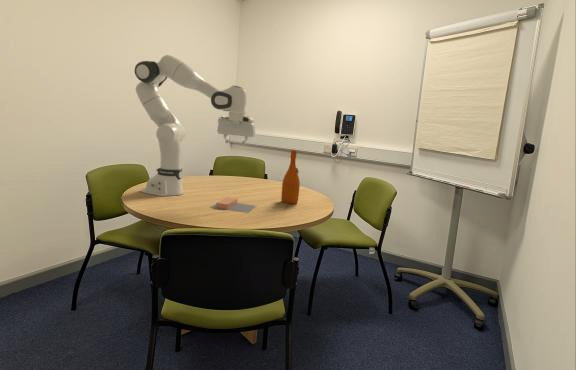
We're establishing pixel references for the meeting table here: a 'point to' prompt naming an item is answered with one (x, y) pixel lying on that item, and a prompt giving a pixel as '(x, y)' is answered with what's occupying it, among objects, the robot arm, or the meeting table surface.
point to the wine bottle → (291, 182)
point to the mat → (239, 207)
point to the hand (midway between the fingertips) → (235, 143)
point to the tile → (226, 203)
